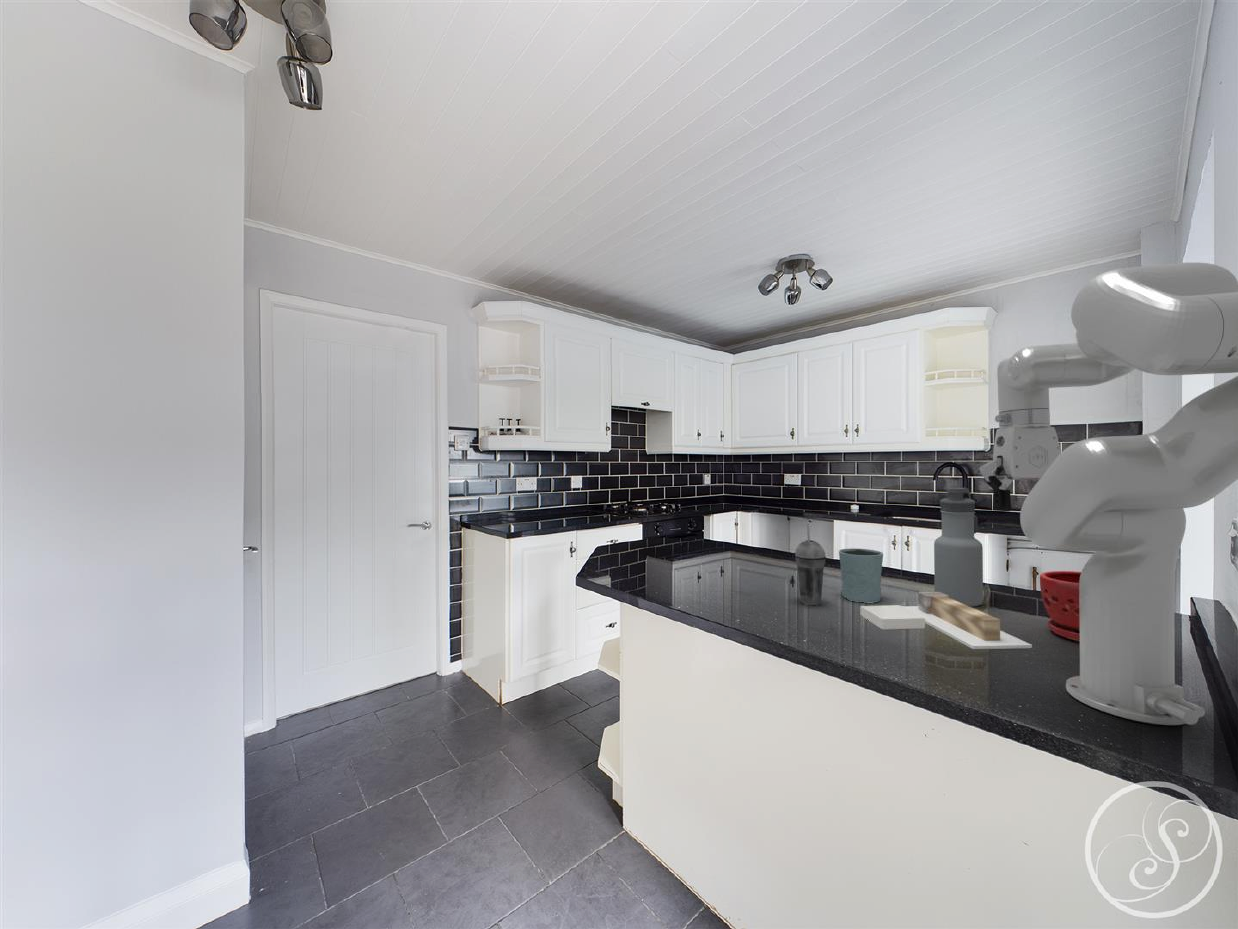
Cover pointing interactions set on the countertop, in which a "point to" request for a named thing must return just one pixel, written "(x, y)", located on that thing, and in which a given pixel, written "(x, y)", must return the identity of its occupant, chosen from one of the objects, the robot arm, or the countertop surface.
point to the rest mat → (967, 638)
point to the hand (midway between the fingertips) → (1026, 510)
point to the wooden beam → (960, 615)
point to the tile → (892, 617)
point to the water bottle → (959, 550)
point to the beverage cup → (810, 570)
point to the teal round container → (861, 574)
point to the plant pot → (1062, 602)
